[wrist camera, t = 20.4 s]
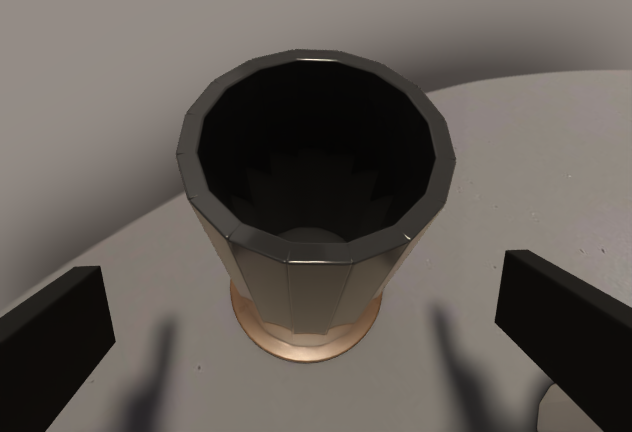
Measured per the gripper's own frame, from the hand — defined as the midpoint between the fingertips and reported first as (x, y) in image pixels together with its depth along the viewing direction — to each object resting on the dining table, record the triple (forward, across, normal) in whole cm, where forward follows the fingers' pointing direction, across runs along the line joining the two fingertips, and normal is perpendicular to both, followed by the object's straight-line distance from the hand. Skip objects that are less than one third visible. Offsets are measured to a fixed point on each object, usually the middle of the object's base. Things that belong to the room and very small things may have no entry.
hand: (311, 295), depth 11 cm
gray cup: (+6, 0, -3) cm, 7 cm away
